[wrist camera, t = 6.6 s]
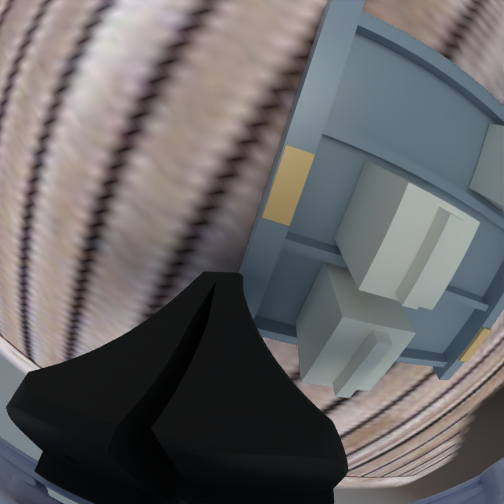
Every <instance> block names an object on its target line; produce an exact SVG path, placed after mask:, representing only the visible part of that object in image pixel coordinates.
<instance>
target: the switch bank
mask: <svg viewBox="0 0 504 504" xmlns="http://www.w3.org/2000/svg"><path fill="white" fill-rule="evenodd" d="M364 2H365V0H328V2H327V4H326V6H325V8H324V11H323V14H322V17H321V20H320V23H319V26H318V29H317V32H316V35H315V38H314V41H313V44H312V47H311V50H310V53H309V56H308V59H307V62H306V65H305V68H304V71H303V74H302V77H301V80H300V83H299V86H298V89H297V92H296V95H295V98H294V101H293V105H292V108H291V111H290V114H289V117H288V120H287V123H286V126H285V129H284V132H283V135H282V138H281V141H280V144H279V147H278V151H277V154H276V157H275V160H274V163H273V166H272V169H271V172H270V175H269V178H268V181H267V185H266V188H265V191H264V194H263V197H262V200H261V203H260V206H259V210H258V213H257V216H256V219H255V222H254V225H253V228H252V231H251V235H250V238H249V241H248V244H247V247H246V250H245V253H244V257H243V260H242V263H241V266H240V269H239V272H238V273H240V274H241V275H242V276H243V291H244V295H245V299H246V302H247V305H248V308H249V311H250V313H251V316H252V318H253V320H254V323H255V325H256V327H257V329H258V331H259V333H260V335H261V336H262V337H266V338H270V339H274V340H279V341H283V342H288V343H292V344H297V345H298V343H297V332H296V322H295V321H296V319H297V317H298V315H299V313H300V311H301V309H302V307H303V305H304V303H305V301H306V298H307V296H308V294H309V292H310V290H311V288H312V286H313V284H314V282H315V280H316V277H317V275H318V273H319V271H320V269H321V267H322V264H323V262H328V263H331V264H334V265H338V266H341V267H344V268H348V266H347V264H346V262H345V260H344V258H343V256H342V254H341V252H340V250H339V247H338V245H337V243H336V241H335V239H334V237H335V235H336V233H337V230H338V228H339V226H340V223H341V221H342V219H343V216H344V214H345V211H346V209H347V207H348V204H349V202H350V199H351V197H352V194H353V192H354V189H355V187H356V184H357V181H358V179H359V176H360V174H361V171H362V168H363V166H364V163H365V160H366V161H368V162H371V163H373V164H375V165H378V166H380V167H382V168H384V169H386V170H388V171H391V172H393V173H395V174H397V175H399V176H401V177H403V178H405V179H407V180H409V181H411V182H413V183H415V184H417V185H419V186H421V187H423V188H425V189H427V190H429V191H430V192H432V193H434V194H436V195H437V196H439V197H441V198H442V199H444V200H446V201H447V202H449V203H451V204H452V205H454V206H456V207H457V208H459V209H460V210H462V211H464V212H465V213H467V214H468V215H470V216H471V217H473V218H474V219H476V220H477V221H479V222H480V224H479V226H478V228H477V231H476V233H475V235H474V237H473V239H472V241H471V243H470V245H469V247H468V249H467V251H466V253H465V255H464V257H463V259H462V261H461V263H460V265H459V266H458V268H457V270H456V272H455V274H454V275H453V277H452V279H451V281H450V282H449V284H448V286H447V287H446V289H445V291H444V292H443V294H442V296H441V297H440V299H439V300H438V302H437V304H436V305H435V307H434V308H433V310H430V309H426V308H423V307H419V308H418V309H413V308H409V307H405V306H402V305H401V303H400V301H399V303H400V305H401V306H402V308H403V310H404V312H405V313H406V315H407V317H408V319H409V320H410V322H411V324H412V326H413V328H414V330H415V331H416V334H415V336H414V337H413V339H412V340H411V341H410V343H409V344H408V345H407V347H406V348H405V349H404V350H403V352H402V353H401V354H400V356H399V357H398V358H397V359H396V361H395V362H401V363H409V364H418V365H427V366H433V368H434V370H435V372H436V374H437V376H438V378H439V380H449V379H450V378H451V377H452V376H453V375H454V374H455V372H456V371H457V370H458V369H459V368H460V367H461V366H462V364H463V363H464V362H468V361H469V359H470V358H471V357H472V356H473V354H474V353H475V352H476V351H477V349H478V348H479V347H480V346H481V344H482V343H483V342H484V340H485V339H486V338H487V336H488V335H489V333H490V332H491V331H492V330H491V329H490V328H491V327H492V325H493V324H494V323H495V321H496V320H497V318H498V317H499V315H500V314H501V312H502V311H503V309H504V213H503V212H502V211H500V210H499V209H498V208H496V207H495V206H494V205H492V204H491V203H490V202H488V201H487V200H486V199H484V198H483V197H481V196H480V195H478V194H477V193H476V192H474V191H473V190H471V189H470V188H469V186H470V183H471V181H472V178H473V175H474V172H475V169H476V167H477V164H478V161H479V158H480V154H481V151H482V148H483V145H484V141H485V138H486V134H487V131H488V127H489V123H490V124H496V125H501V126H504V106H503V105H502V104H501V103H500V102H499V101H498V100H497V99H496V98H495V97H494V96H493V95H492V94H491V93H489V92H488V91H487V90H486V89H485V88H484V87H483V86H481V85H480V84H479V83H478V82H477V81H476V80H474V79H473V78H472V77H471V76H469V75H468V74H467V73H466V72H464V71H463V70H462V69H460V68H459V67H458V66H456V65H455V64H454V63H452V62H451V61H449V60H448V59H447V58H445V57H444V56H442V55H441V54H439V53H438V52H436V51H435V50H433V49H432V48H430V47H429V46H427V45H426V44H424V43H422V42H421V41H419V40H417V39H416V38H414V37H412V36H411V35H409V34H407V33H405V32H404V31H402V30H400V29H398V28H396V27H394V26H392V25H390V24H389V23H387V22H385V21H383V20H380V19H378V18H376V17H374V16H372V15H370V14H368V13H365V12H363V11H362V9H363V5H364ZM348 269H349V268H348Z"/></svg>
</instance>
